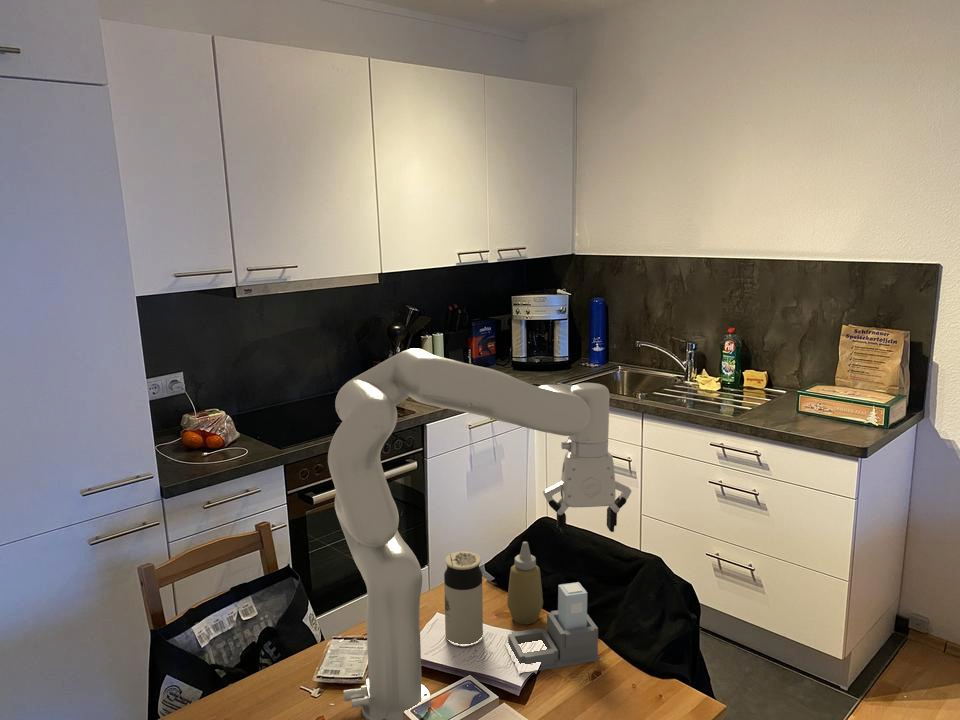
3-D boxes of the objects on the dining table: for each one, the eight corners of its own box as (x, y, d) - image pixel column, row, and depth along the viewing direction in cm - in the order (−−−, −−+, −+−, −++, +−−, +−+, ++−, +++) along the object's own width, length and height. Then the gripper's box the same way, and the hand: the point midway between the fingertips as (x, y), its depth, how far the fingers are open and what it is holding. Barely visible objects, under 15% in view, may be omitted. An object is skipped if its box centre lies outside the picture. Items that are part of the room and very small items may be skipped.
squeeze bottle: (500, 613, 161) (500, 539, 157) (532, 605, 164) (532, 532, 161) (517, 631, 154) (517, 554, 150) (549, 622, 157) (550, 546, 153)
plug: (565, 641, 144) (566, 595, 142) (557, 629, 148) (558, 584, 146) (586, 638, 145) (587, 592, 143) (577, 625, 149) (578, 581, 147)
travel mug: (483, 626, 155) (482, 550, 152) (482, 648, 148) (481, 568, 144) (446, 626, 156) (445, 550, 152) (444, 648, 148) (442, 568, 144)
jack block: (518, 674, 139) (518, 644, 138) (504, 645, 149) (504, 616, 147) (599, 660, 143) (600, 631, 142) (580, 633, 153) (580, 605, 152)
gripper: (547, 455, 133) (546, 540, 136) (638, 452, 134) (634, 536, 138) (540, 442, 140) (539, 524, 144) (626, 440, 142) (623, 520, 145)
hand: (586, 530), depth 141 cm, fingers open, 9 cm apart
